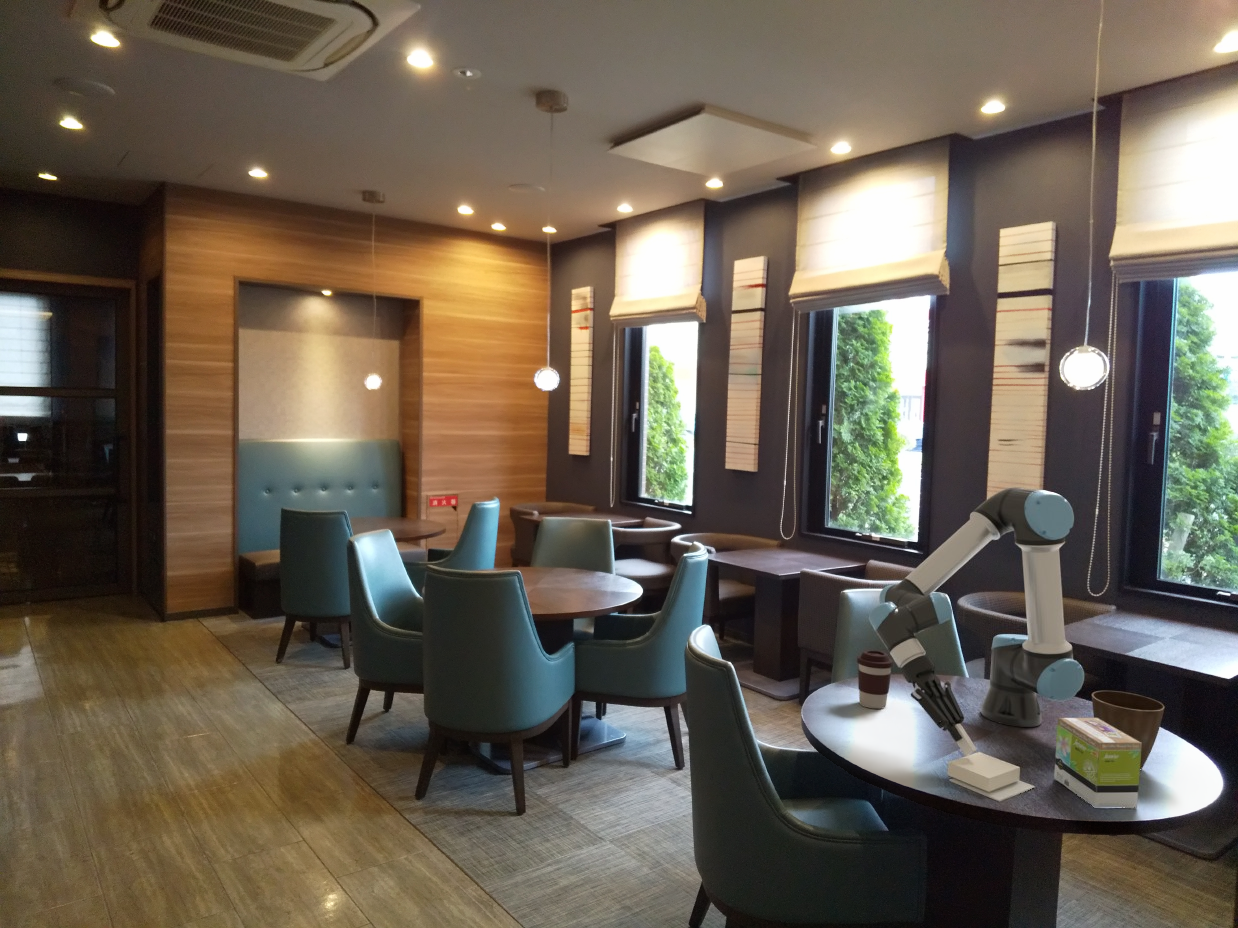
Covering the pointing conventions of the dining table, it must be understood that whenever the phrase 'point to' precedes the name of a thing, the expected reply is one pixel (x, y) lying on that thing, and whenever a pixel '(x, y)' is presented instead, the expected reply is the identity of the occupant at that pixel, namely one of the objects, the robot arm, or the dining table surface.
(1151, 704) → the plant pot
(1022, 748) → the dining table surface
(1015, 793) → the mat
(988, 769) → the tile
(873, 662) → the coffee cup
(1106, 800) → the tea box
